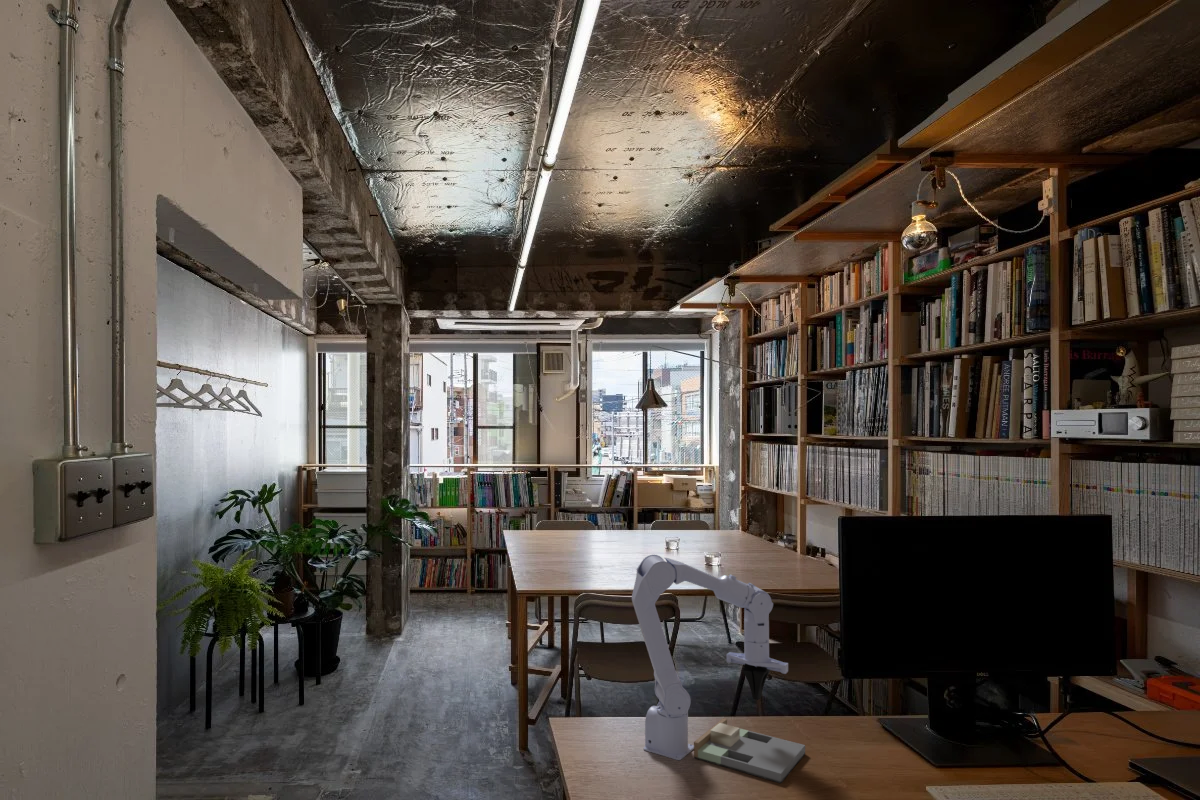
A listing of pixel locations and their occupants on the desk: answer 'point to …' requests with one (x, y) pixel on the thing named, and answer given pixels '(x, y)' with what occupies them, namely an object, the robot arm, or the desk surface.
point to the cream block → (725, 734)
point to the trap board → (752, 754)
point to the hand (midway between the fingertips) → (756, 698)
